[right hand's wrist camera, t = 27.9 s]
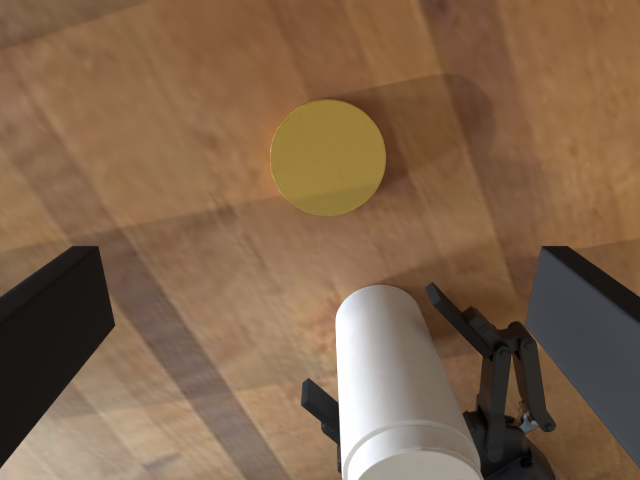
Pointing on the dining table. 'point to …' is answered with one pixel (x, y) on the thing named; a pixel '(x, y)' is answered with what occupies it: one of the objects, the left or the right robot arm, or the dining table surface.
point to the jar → (396, 394)
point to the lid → (328, 157)
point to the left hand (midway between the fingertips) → (365, 344)
